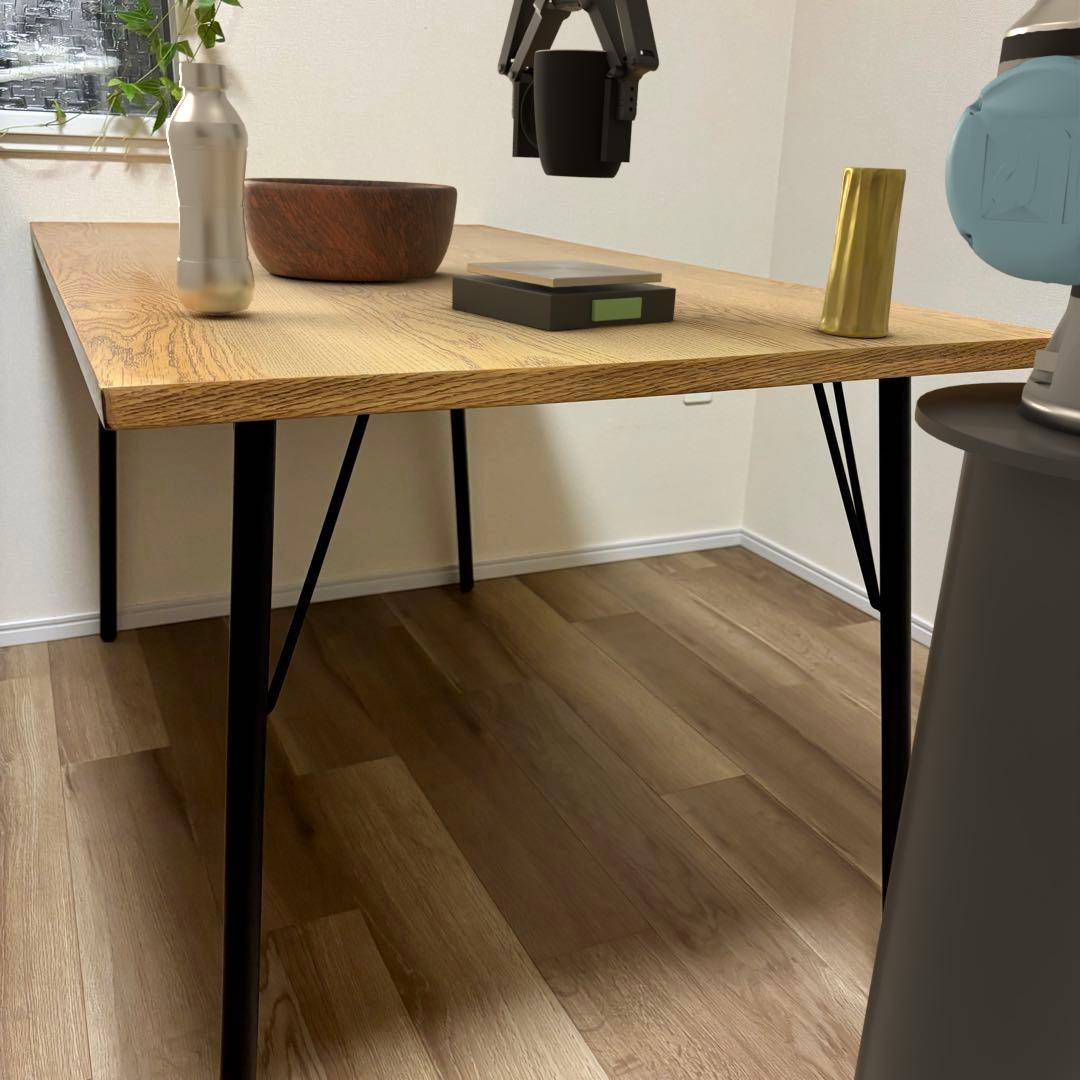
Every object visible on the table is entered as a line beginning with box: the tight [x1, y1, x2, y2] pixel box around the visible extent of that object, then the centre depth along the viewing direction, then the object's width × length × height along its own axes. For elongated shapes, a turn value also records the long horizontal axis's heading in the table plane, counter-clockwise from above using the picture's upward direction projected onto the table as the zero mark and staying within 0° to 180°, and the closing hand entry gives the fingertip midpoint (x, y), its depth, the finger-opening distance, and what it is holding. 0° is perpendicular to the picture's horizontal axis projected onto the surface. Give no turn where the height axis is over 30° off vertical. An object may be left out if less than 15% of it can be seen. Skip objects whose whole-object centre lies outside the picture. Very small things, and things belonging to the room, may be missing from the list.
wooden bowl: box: [243, 177, 458, 282], centre depth 127 cm, size 25×25×10 cm
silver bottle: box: [166, 62, 256, 317], centre depth 91 cm, size 6×7×20 cm
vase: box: [818, 166, 907, 339], centre depth 97 cm, size 6×6×14 cm
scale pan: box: [466, 259, 663, 288], centre depth 102 cm, size 13×13×1 cm
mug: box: [521, 48, 623, 179], centre depth 97 cm, size 12×9×10 cm
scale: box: [451, 274, 677, 332], centre depth 102 cm, size 15×15×3 cm
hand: (568, 160), depth 98 cm, fingers closed on mug, 12 cm apart
